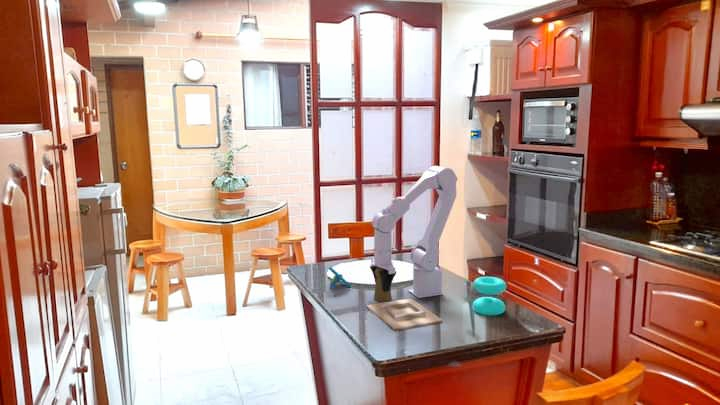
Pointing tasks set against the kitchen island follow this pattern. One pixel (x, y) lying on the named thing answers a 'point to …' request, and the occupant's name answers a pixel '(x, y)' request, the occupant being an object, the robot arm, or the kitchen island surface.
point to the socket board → (403, 314)
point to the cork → (379, 292)
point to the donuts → (489, 303)
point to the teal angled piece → (337, 279)
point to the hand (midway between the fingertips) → (382, 288)
